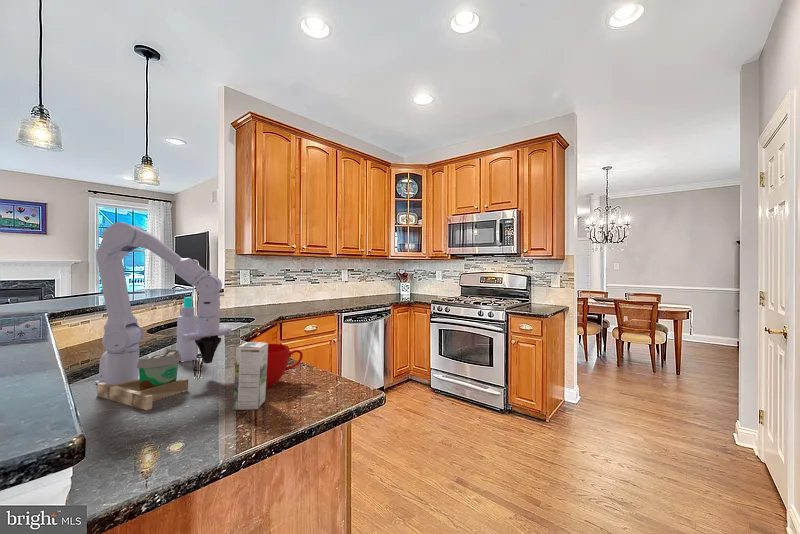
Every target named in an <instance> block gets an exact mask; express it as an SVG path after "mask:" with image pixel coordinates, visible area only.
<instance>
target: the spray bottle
mask: <svg viewBox="0 0 800 534" xmlns="http://www.w3.org/2000/svg"><path fill="white" fill-rule="evenodd" d="M176 325H177V326H176V328H177V329H176V350H178V351H179V353H180V354H181V361H190V362H193V361H192V360H194V361H196V359H197V355H198V354H197V351H198V350H197V349H198V346H197V344H196V343H195V340H194V341H190V342H182V335H185V334H189V333H193V332H197V326H198V314H197V315H196V314H195V307H194V306H193V297H192V296H184V297H183V306H182V307H181V312H180V315H177V324H176Z"/></svg>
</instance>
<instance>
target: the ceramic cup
mask: <svg viewBox="0 0 800 534" xmlns="http://www.w3.org/2000/svg"><path fill="white" fill-rule="evenodd" d="M267 344H268V356H267V379H266V388H269V386H270V387H272V386H275V385H276V384H277V383H278V382H279V381H280V380H281V378H282V377H283V375H284V374H285V372H286V371H289V370H291V369H293V368H295V367H297V366H298V365H299V364H300V363H301V361H302V360H303V357H304V356H303V352H302V351H301V350H300V349H293V350H291V351H290V347H289V345H286V344H279V343H267ZM295 353H299V358H298V360H297V361H296V362H295V363H294V364H291V365H289V366H288V363H289V359H290V358H291V356H292V355H293V354H295Z"/></svg>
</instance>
